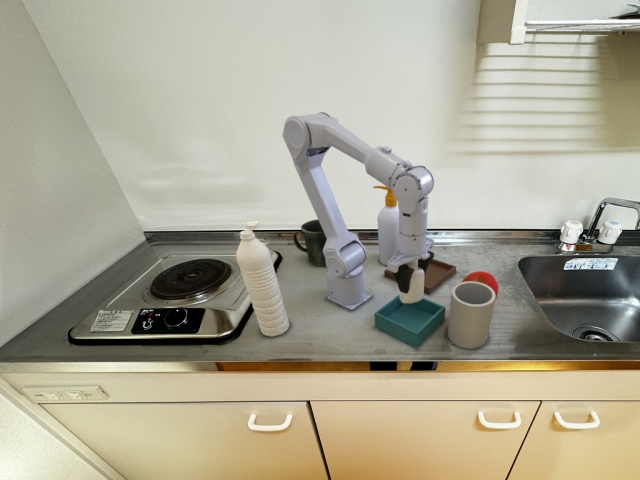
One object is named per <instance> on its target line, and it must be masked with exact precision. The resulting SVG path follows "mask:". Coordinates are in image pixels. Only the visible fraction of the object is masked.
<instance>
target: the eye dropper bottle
mask: <svg viewBox="0 0 640 480" xmlns="http://www.w3.org/2000/svg"><path fill="white" fill-rule="evenodd" d="M407 265H408V267H410V268H412V269H415V270H414V272H413V274H412V277H411V280H410V288H409V292H408V293H407V294H405V293H403V292H401V291H399V293H398V295H399V299H400V300H401V302H402V303H405V304H409V303H415V302H418V301H420V300H422V299H423V298H424V294H425V293H424V271H423V270H422V268H420V267H418V260H415V261H412V262H409V263H407Z"/></svg>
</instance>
